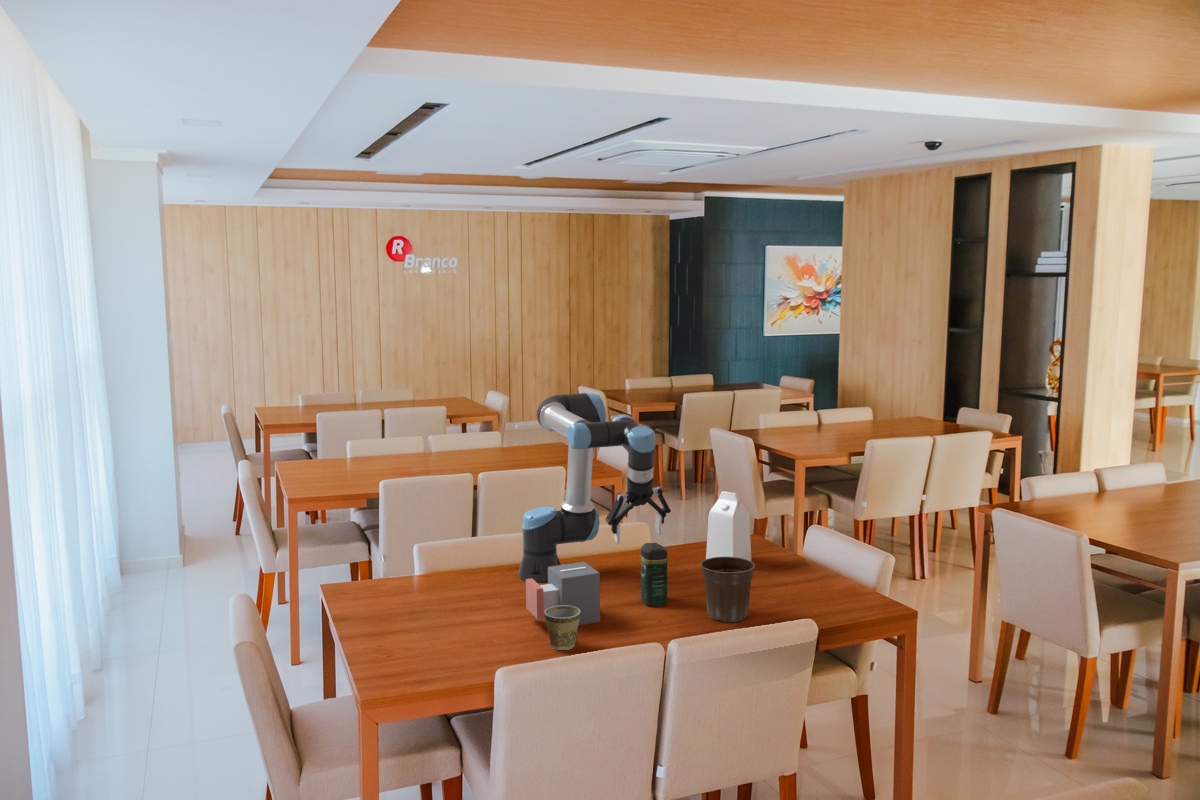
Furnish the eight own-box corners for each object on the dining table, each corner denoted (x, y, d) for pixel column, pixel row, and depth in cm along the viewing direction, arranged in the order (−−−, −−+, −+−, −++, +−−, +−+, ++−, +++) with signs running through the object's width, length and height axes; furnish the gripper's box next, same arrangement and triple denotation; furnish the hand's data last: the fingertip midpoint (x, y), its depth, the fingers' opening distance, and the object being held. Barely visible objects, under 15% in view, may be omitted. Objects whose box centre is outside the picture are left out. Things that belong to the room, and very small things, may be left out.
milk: (751, 562, 309) (752, 492, 306) (733, 569, 301) (733, 497, 298) (724, 555, 317) (724, 487, 314) (705, 562, 309) (706, 492, 306)
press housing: (562, 628, 248) (561, 577, 246) (548, 614, 259) (547, 565, 257) (600, 621, 253) (599, 572, 251) (584, 608, 264) (584, 560, 262)
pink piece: (537, 619, 246) (536, 589, 245) (526, 608, 255) (525, 579, 254) (581, 612, 251) (581, 582, 250) (569, 601, 260) (569, 572, 259)
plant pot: (690, 610, 261) (690, 559, 259) (736, 603, 267) (736, 553, 265) (717, 629, 246) (717, 575, 244) (764, 620, 252) (765, 568, 250)
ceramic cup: (581, 652, 231) (581, 617, 230) (545, 654, 230) (544, 618, 229) (579, 634, 244) (578, 600, 242) (544, 635, 243) (543, 602, 242)
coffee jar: (670, 605, 265) (670, 548, 263) (646, 608, 264) (645, 550, 262) (661, 595, 275) (661, 539, 273) (638, 597, 273) (637, 541, 271)
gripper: (605, 491, 241) (603, 552, 250) (684, 476, 249) (679, 535, 258) (595, 478, 247) (594, 537, 256) (673, 463, 255) (669, 522, 265)
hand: (637, 536), depth 257 cm, fingers open, 13 cm apart
